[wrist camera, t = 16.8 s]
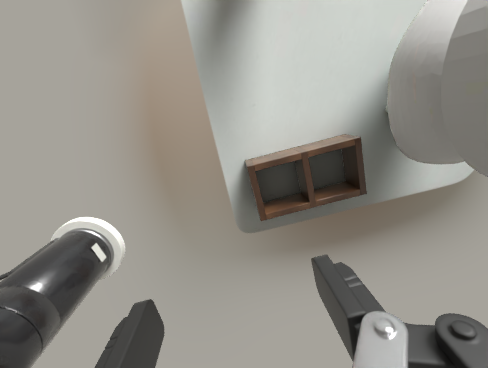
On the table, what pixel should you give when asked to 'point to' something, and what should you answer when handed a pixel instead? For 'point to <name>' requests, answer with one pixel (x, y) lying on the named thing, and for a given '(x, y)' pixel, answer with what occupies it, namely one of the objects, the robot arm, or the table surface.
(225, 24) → the table surface
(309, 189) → the rack
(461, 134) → the table lamp
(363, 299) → the robot arm
